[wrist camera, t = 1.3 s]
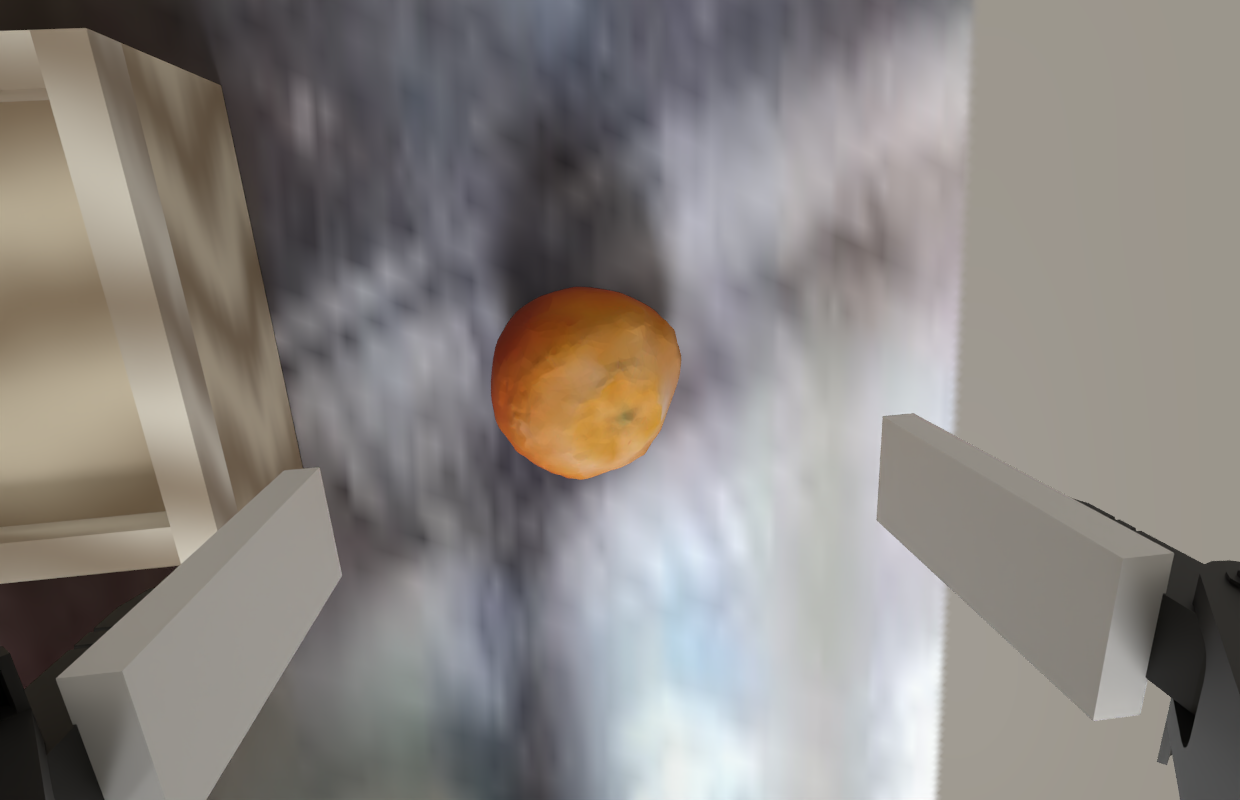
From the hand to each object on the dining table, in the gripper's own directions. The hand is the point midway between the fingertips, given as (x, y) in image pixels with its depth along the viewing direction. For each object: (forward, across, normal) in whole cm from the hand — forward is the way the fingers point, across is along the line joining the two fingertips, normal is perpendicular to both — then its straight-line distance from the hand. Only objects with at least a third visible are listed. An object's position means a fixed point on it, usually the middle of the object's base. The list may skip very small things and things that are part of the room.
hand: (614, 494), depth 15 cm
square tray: (+15, +22, -4) cm, 27 cm away
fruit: (+16, 0, 0) cm, 16 cm away
